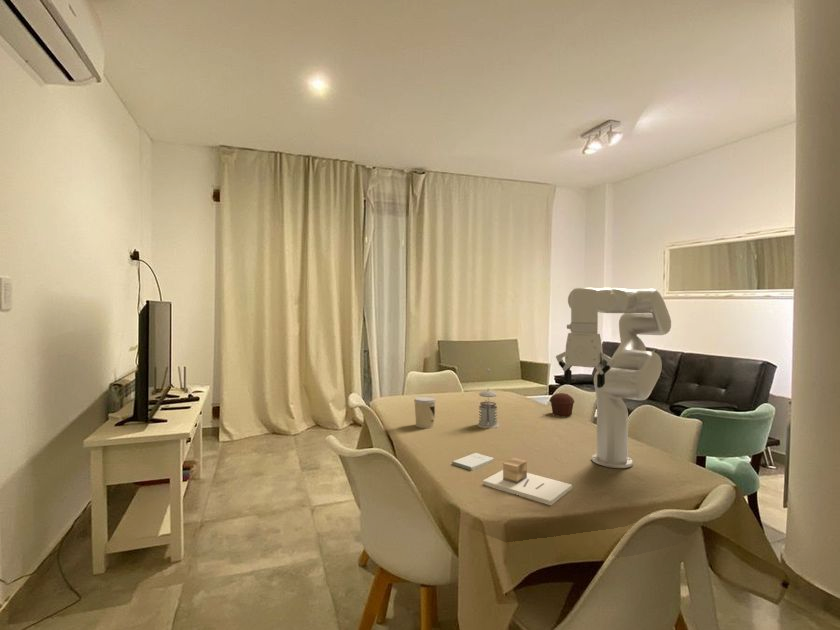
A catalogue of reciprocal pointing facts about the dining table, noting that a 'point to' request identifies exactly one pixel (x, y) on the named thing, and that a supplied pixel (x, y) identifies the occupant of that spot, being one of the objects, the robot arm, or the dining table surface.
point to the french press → (488, 411)
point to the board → (531, 487)
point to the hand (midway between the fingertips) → (583, 385)
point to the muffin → (562, 404)
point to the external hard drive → (473, 461)
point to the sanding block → (514, 470)
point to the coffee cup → (424, 411)
